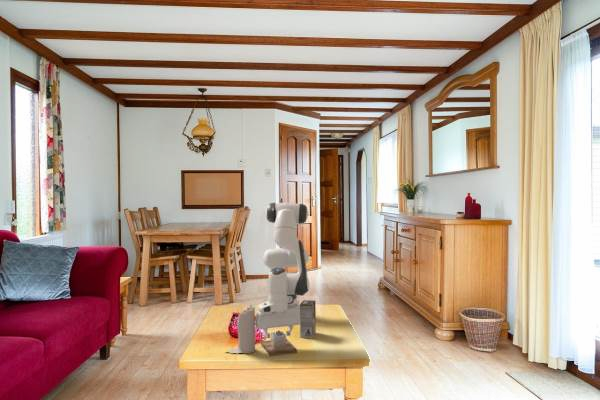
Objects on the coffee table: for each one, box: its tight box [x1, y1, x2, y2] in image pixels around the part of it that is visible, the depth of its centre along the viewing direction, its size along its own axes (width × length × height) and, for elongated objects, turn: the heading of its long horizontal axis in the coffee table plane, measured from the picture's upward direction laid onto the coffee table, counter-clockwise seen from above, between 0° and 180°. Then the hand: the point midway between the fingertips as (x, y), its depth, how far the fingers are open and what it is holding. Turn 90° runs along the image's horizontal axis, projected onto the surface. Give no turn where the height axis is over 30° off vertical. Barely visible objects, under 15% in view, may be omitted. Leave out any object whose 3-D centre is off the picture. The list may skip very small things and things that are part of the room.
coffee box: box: [299, 299, 317, 339], centre depth 207 cm, size 9×6×16 cm
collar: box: [270, 331, 287, 348], centre depth 188 cm, size 5×5×5 cm
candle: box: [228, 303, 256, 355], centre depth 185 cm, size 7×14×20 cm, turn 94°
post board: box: [260, 338, 298, 357], centre depth 188 cm, size 15×12×2 cm
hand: (278, 336), depth 188 cm, fingers open, 8 cm apart
